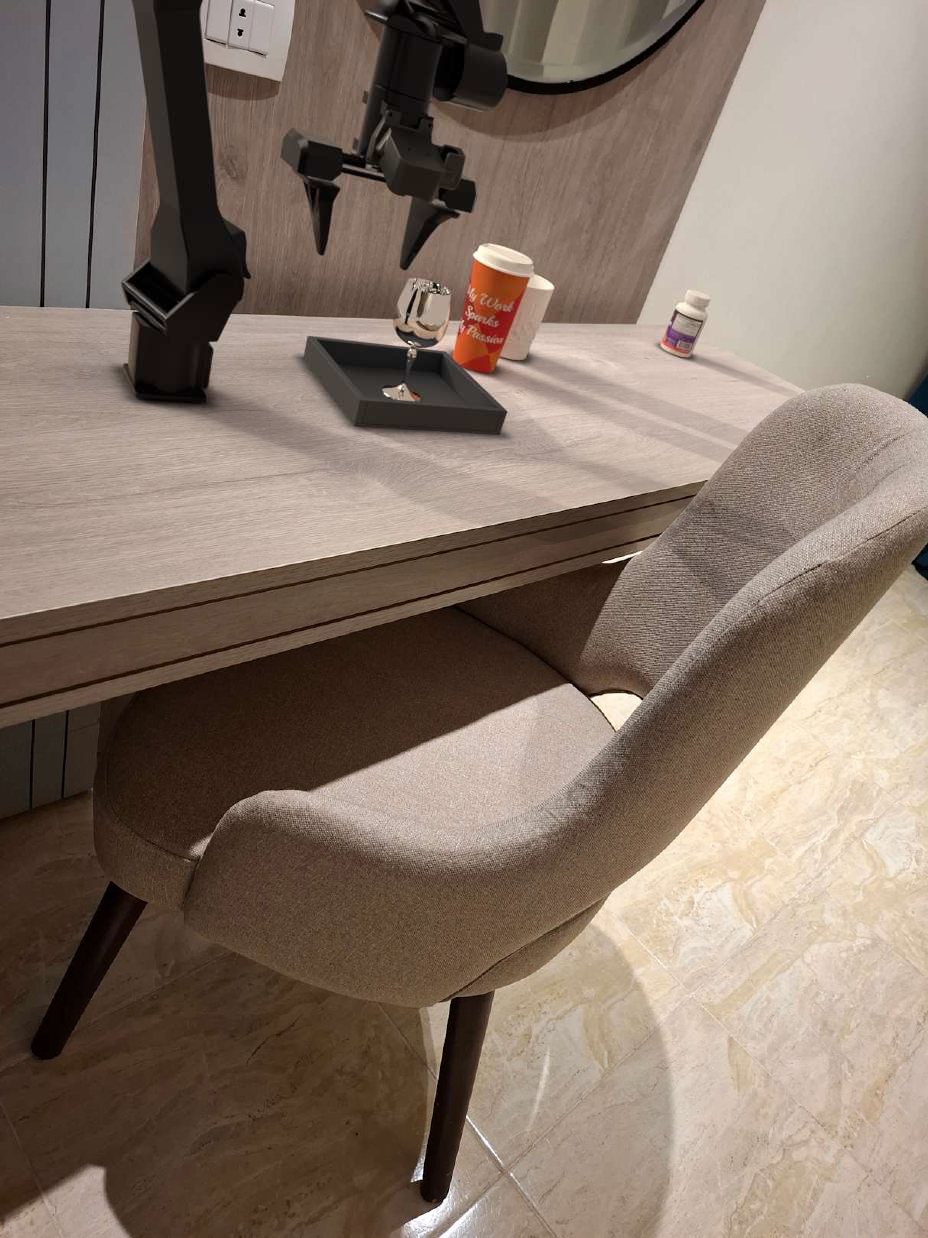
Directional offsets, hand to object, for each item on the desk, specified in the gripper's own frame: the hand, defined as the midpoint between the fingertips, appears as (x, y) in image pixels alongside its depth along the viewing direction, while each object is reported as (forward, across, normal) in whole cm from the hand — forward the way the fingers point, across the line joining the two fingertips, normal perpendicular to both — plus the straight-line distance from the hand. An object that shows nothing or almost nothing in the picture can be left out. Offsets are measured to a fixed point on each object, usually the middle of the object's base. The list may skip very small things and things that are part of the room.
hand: (362, 261), depth 91 cm
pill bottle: (+12, +70, +25) cm, 76 cm away
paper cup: (+13, +22, +9) cm, 27 cm away
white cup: (+13, +30, +15) cm, 36 cm away
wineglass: (+13, +7, -3) cm, 15 cm away
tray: (+13, +7, -3) cm, 15 cm away
